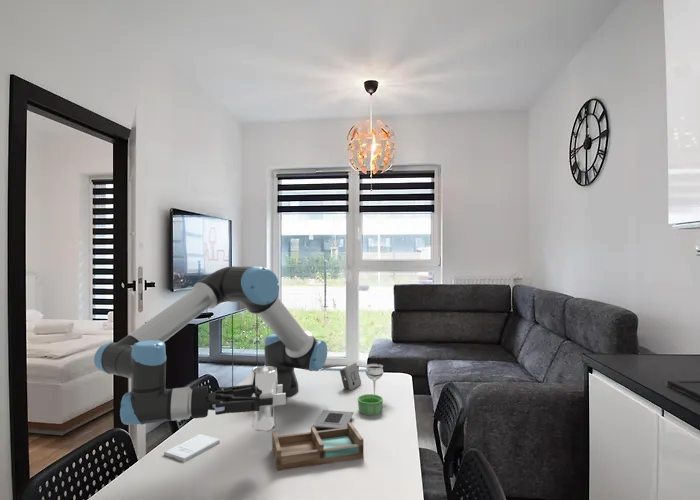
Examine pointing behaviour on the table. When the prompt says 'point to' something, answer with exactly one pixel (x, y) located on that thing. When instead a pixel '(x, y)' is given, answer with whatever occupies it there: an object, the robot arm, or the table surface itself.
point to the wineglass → (374, 372)
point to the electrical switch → (350, 376)
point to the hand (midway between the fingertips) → (283, 394)
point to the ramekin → (370, 404)
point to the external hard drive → (192, 447)
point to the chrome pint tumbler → (264, 384)
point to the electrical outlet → (333, 419)
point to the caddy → (317, 447)
